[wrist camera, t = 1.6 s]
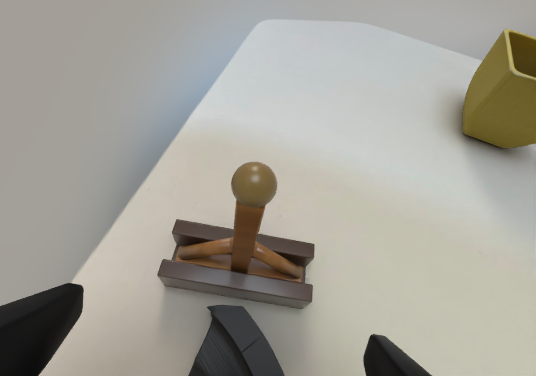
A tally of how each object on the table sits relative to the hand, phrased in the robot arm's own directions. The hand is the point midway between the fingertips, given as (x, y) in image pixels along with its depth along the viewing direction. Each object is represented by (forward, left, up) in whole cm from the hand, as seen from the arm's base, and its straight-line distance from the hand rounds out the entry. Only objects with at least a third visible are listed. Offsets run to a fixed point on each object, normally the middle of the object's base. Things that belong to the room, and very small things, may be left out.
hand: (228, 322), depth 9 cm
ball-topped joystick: (+5, 0, -11) cm, 12 cm away
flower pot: (+29, -23, -12) cm, 39 cm away
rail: (+5, 0, -12) cm, 13 cm away
